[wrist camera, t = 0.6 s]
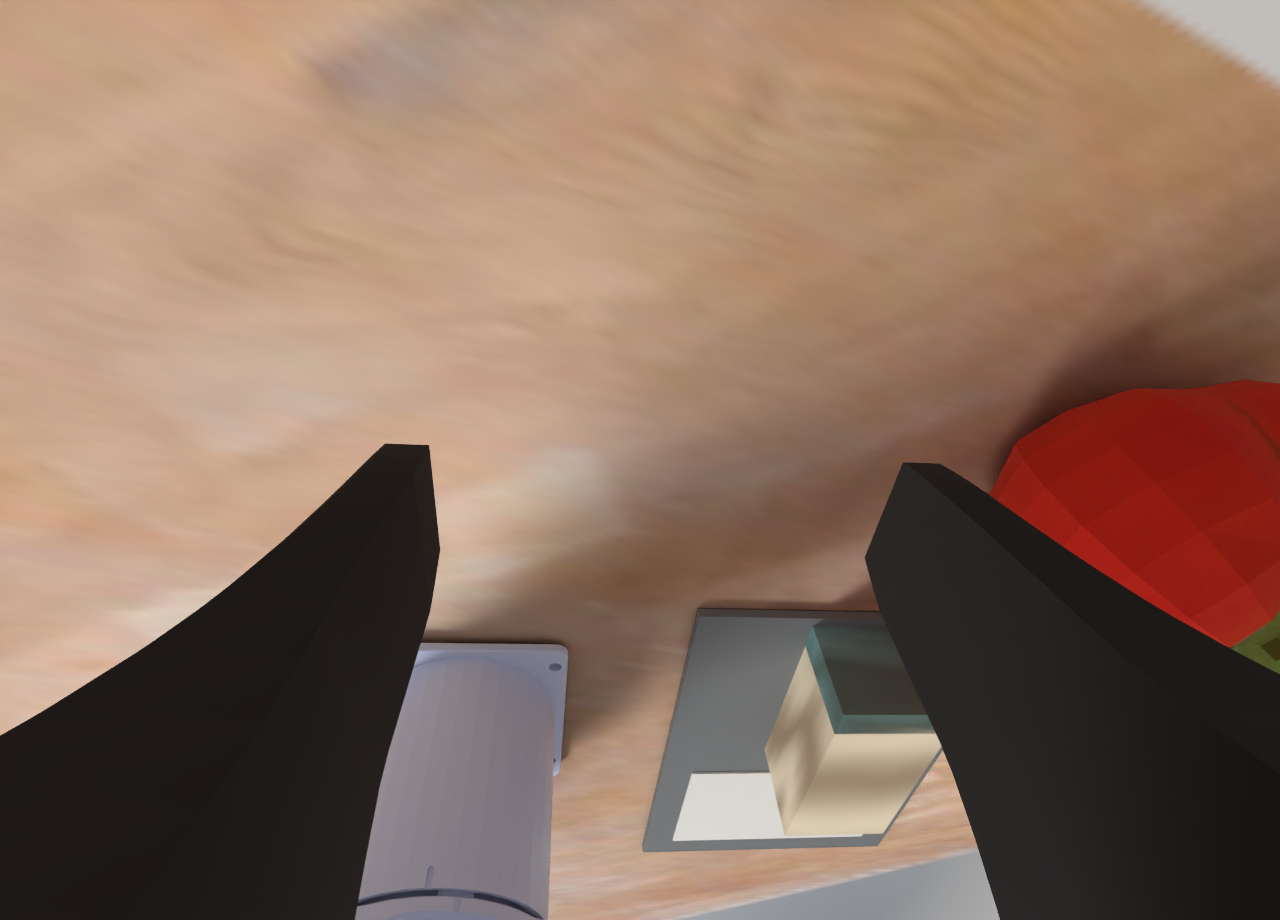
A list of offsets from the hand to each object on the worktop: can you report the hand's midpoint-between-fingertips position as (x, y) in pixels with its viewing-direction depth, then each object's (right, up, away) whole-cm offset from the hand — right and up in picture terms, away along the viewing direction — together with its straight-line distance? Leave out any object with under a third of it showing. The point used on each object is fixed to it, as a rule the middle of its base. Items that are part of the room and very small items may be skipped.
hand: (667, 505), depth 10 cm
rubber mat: (+8, -14, +23) cm, 28 cm away
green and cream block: (+8, -10, +20) cm, 23 cm away
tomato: (+16, 0, +14) cm, 21 cm away
